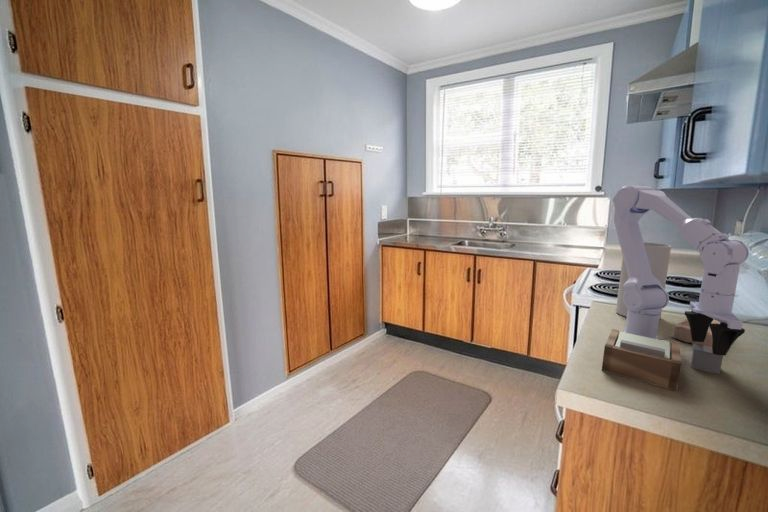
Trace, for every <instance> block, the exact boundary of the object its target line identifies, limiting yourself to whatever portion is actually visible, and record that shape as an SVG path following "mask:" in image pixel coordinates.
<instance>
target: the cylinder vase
mask: <svg viewBox="0 0 768 512" xmlns="http://www.w3.org/2000/svg"><path fill="white" fill-rule="evenodd" d="M643 242H644V241H643ZM644 246H645V250H646V253H647V257H648V261H649V264H650V268H651V272H652V275H653V276H654V277H655V278H657V279H658V280H659V281H660V282H661V284H662V287H663V288H664V290H665V291H666V282H667V277H668V276H667V275H668V269H669V263H670V256H671V249H672V245H670V244H667V243H666V244H665V243H658V242H657V243H656V242H644ZM620 268H621V269H620V276H619V284H618V292H617V300H616V307H615V311H616V313H617V314H618V315H621V316H622V317H625V318H627V312H628V310H627V307H626V306H625V304H624V302H623V294H624V289H623V285H624V284H625V282H626V281H627V280H628V279H629V278H628V274H627V270H626V266H625V262H624V258H623V257H622V258H621V266H620ZM641 288H643V287H641ZM661 317H662V312H660V318H659V320H660V319H661Z"/></svg>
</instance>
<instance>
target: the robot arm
mask: <svg viewBox="0 0 768 512" xmlns="http://www.w3.org/2000/svg"><path fill="white" fill-rule="evenodd" d="M612 202H613V205H614V215H613V216H614V217H613V222H614V227H615V231H616V234H617V238H618V242H619V245H620V250H621V253H622V259H623V258H624V262H625V266H626V270H627V274H628V278H629V279H628V280H627V281H626V282H625V284H624V285H623V289H624V294H623V302H624V304H625V306H626V307H627V310H628V312H627V317H626V321H625V327H624V328H625V329H624V331H623V332H624V333H629V334H634V335H639V336H644V337H648V338H653V339H658V340H659V337H658V330H659V326H660V319H661V317H660V312H661V313H662V312H663V311H662V310H663V309H664V308H666V307H667V306H668V304H669V301H670V297H669V294H668V292H667V291H666V289H665V290H664V288H663V287H662V284H661V282H660V281H659V280H658V279H657V278H655V277H654V276H653V275H652V272H651V268H650V264H649V261H648V257H647V253H646V250H645V246H644V240H643V236H642V231H641V228H640V224H639V222H640V220H641V219H642V217H644V216H645V215H646V214H648V213H649V212H650V211H654V212H655V213H657V214H658V215H660V217H662V218H664V219H665V220H667V222H669V223H671V224H672V225H673V226H675V227H676V228H677V234H678V236H679V237H680V238H681V239H683V240H684V241H685V242H687V243H688V244H689V245H690V246H691V247H693V248H694V249H695V250H696V251H697V252H698V253H699V258H700V260H701V262H703V268H702V270H703V274H702V278H701V279H702V280H701V287H700V293H699V300H698V301H690V302H689V308H688V309H689V310H691V311H689V310H688V311H687V310H685V311H684V315H685V317H686V319H688V322H689V325H690V330H691V337H692V341H696V342H704V340H705V338H706V335H707V331H708V328H709V326H710V329H711V332H712V338H713V342H712V351H713V354H715V355H723V357H725V356H726V355H727V354H728V352H729V351H730V349H731V347H732V345H733V344H734V342H735V341H736V340H737V339H738V338H739V337H741V336H742V335H743V334H745V331H746V330H745V328H742V327H743V322H744V321H743V320H741V319H739V318H738V317H737V315H736V314H734V313H733V306H734V300H735V295H736V290H737V284H738V279H739V278H738V277H739V275H740V274H739V272H740V267H741V264H743V263H744V262H745V261H746V260H747V259H748V257H749V248H748V247H747V246H746V245H745V244H744V242H743V241H742V240H739V239H730V238H729V236H730V235H728V234H727V233H722V232H721V231H720V230H718V229H717V228H715V227H714V226H713V225H712V221H710V220H709V219H708V218H702V217H693V218H692V217H691V216H690V215H689V214H687V213H686V212H685V211H684V210H683V209H682V208H681V207H680V206H678V205H677V204H676V203H675V202H674V201H672V200H671V199H670V198H669V197H668V196H667V195H666V193H665V191H662V190H660V189H659V188H658V187H656V186H653V185H648V186H647V185H646V186H645V185H644V186H643V185H641V186H640V185H629V184H628V185H623V186H622V187H620V188H619V189H618V190H617V191H616V193H615V195H614V196H613V198H612ZM641 287H643V288H641ZM659 318H660V319H659ZM713 320H714V321H718V322H720V324H713V323H712V321H713Z"/></svg>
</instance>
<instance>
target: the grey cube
mask: <svg viewBox="0 0 768 512" xmlns="http://www.w3.org/2000/svg"><path fill="white" fill-rule="evenodd" d="M723 357H724V355H715V354H713V351H712V347H710V346H705V345H700V344H695V343H693V344H692V345H691V352H690V357H689V364H690V368H691V369H696V370H699V369H700V371H703V370H704V372H707V371H708V373H712V374H716V373H717V375H720V374H721V368H722V364H723V359H724V358H723Z"/></svg>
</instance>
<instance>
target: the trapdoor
mask: <svg viewBox="0 0 768 512" xmlns="http://www.w3.org/2000/svg"><path fill="white" fill-rule="evenodd" d="M615 346H616V347H620V348H625V349H629V350H633V351H637V352H642V353H646V354H650V355H655V356H659V357H663V358H668V359H670V347H671V342H670V341H668V340H661V339H659V338H658V339H653V338H648V337H644V336H639V335H634V334H629V333H624V331H619V335H618V340H617V342H616V345H615Z"/></svg>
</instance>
